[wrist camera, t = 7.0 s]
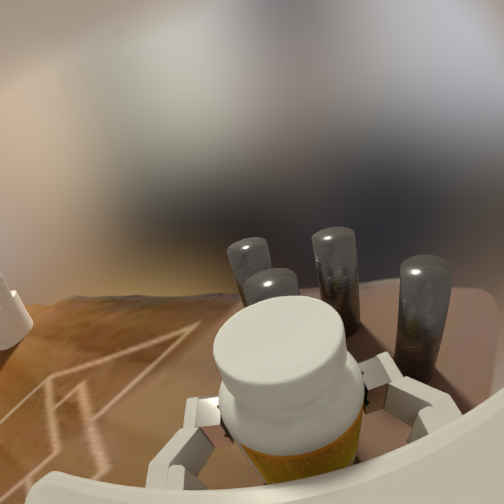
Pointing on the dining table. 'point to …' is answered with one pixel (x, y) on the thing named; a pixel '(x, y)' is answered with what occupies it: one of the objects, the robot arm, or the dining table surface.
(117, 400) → the dining table surface
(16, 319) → the cylinder with rectangular tab
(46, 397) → the dining table surface
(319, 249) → the posts
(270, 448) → the supplement bottle
